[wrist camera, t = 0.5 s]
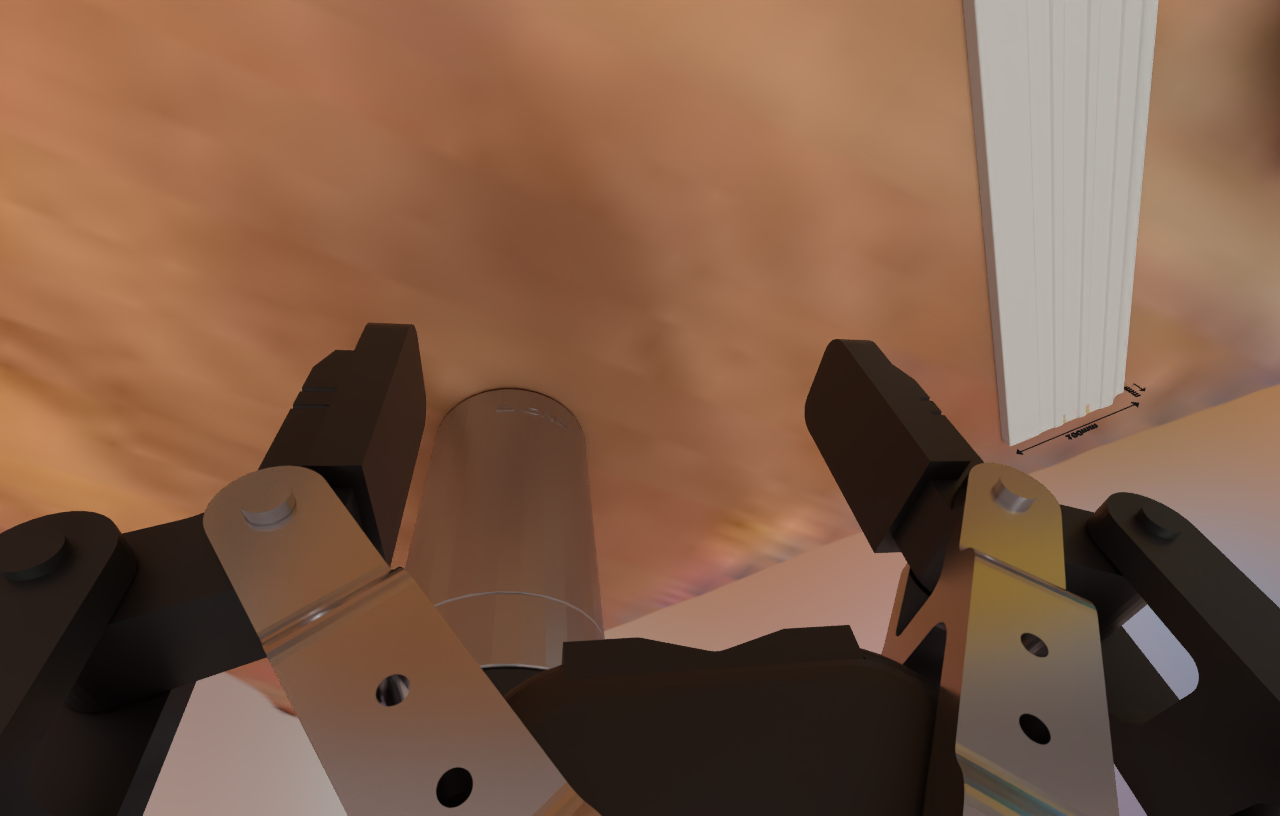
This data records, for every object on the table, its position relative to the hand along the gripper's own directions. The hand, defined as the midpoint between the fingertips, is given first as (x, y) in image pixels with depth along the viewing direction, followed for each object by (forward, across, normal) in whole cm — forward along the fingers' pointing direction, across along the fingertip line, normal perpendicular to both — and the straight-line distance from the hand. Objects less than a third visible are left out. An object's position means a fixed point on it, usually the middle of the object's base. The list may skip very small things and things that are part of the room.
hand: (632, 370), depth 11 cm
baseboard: (+20, +28, -3) cm, 35 cm away
